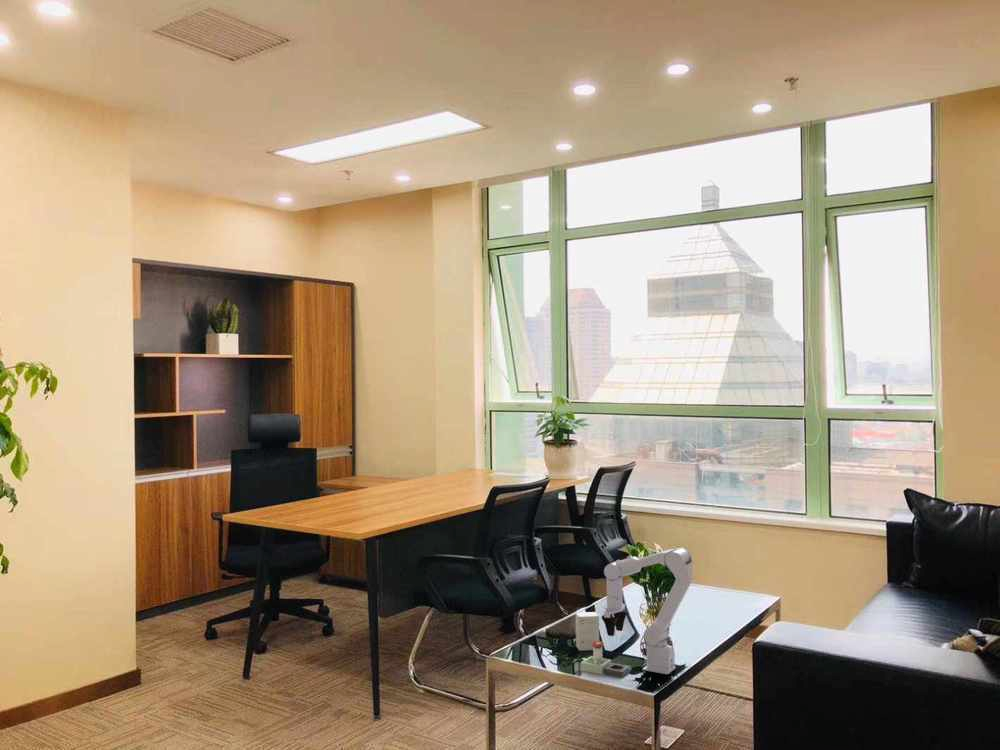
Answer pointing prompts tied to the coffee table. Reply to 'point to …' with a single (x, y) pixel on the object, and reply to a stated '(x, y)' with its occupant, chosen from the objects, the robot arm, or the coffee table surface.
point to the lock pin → (597, 652)
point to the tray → (594, 665)
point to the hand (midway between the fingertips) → (615, 633)
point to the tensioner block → (617, 670)
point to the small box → (586, 630)
